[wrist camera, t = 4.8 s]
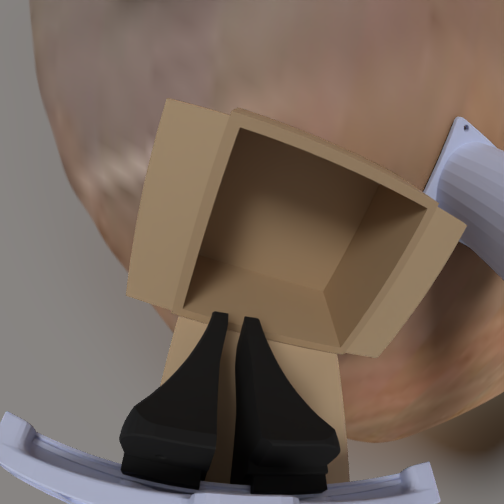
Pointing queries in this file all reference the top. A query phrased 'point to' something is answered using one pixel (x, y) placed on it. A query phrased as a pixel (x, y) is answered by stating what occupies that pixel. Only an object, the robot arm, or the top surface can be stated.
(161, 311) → the top surface
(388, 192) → the carton
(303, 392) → the carton flap
